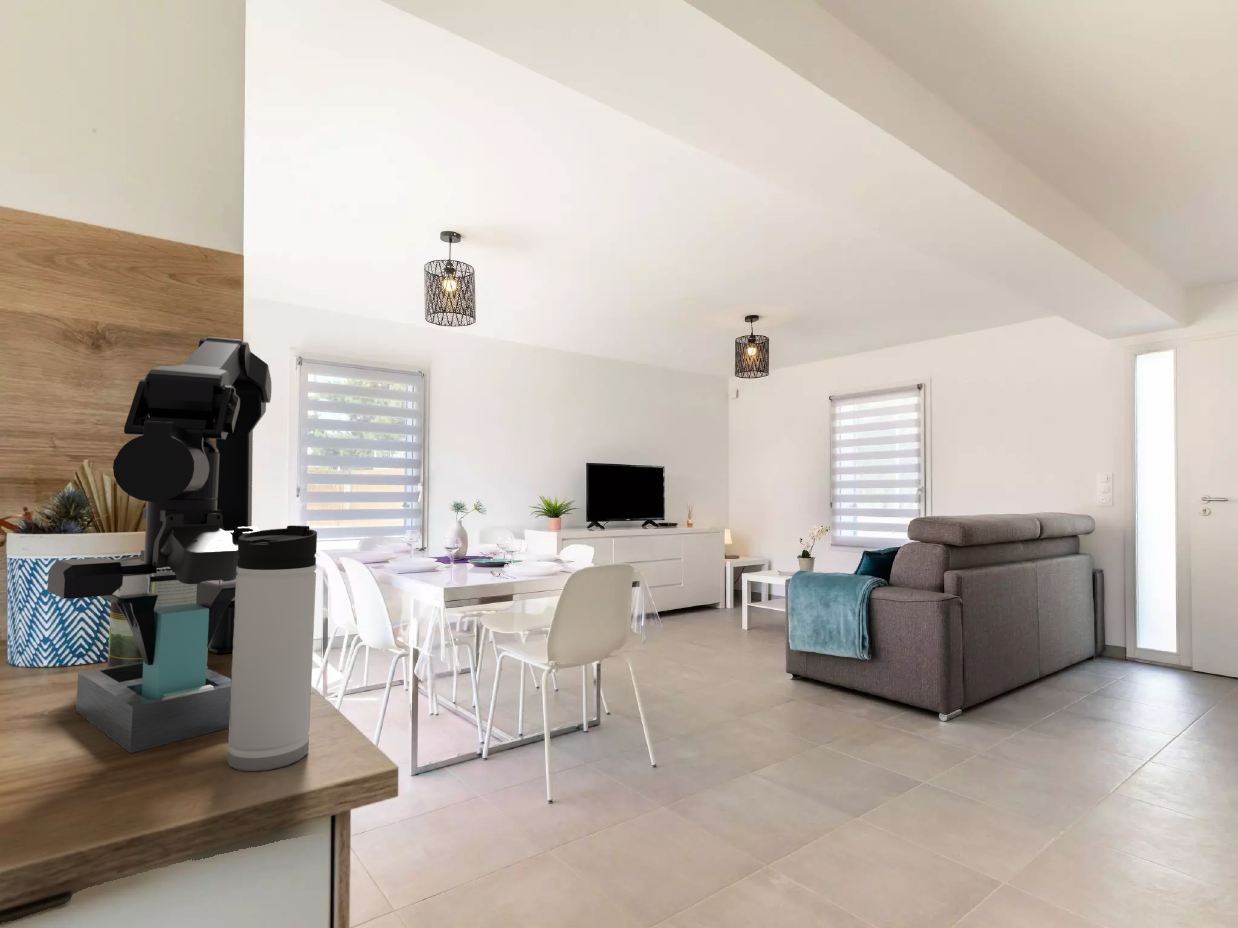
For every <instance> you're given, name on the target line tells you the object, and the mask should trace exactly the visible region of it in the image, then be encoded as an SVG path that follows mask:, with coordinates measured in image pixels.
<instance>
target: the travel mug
mask: <svg viewBox="0 0 1238 928" xmlns="http://www.w3.org/2000/svg"><path fill="white" fill-rule="evenodd" d="M317 542H318V532H317V531H316V530H314V529H310V526H309V525H292V524H291V525H287V526H286V528H272V529H265V530H264V529H263V530H260V531H256V532H251V533H247V534H244V535H242V536H240V537H239V542H238V555H239V559H238V563H237V568H236V571H237V573H238V575H237V576H236V590H235V611H234V633H233V651H232V657H231V659H232V660H231V678H230V679H231V697H230V719H229V728H228V745H227V764H229V766H230V767H231V768H233V769H236V770H237V771H238V770H239V771H244V772H263V771H270V770H277V769H280V768H283V767H287V766H289V765H291V764H295V763H296V762H299V761H300V760H301V759H303V757H305V756H306V755H307V754H308V752H309V749H310V734H309V733H310V725H311V702H312V701H311V700H312V698H311V697H312V680H313V679H312V678H313V677H312V676H313V673H312V672H313V655H314V653H313V652H314V634H315V633H314V632H315V630H314V628H315V607H316V606H315V605H316V585H317V583H316V581H317V580H316V579H317V572H315V571H316V570H317V557H316V554H317V547H318V546H317V545H318V543H317Z"/></svg>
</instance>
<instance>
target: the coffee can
mask: <svg viewBox="0 0 1238 928" xmlns="http://www.w3.org/2000/svg"><path fill="white" fill-rule="evenodd" d="M140 558H141V555H140V556H129V557H121V558H117V559H115V561H119V562H120V563H121V565H126V564H142V563H144V562H143V561H140ZM167 567H169V566H167ZM163 568H166V567H163ZM149 592H151V593H154V594H157V595H158V598H157V601H156V604H155V607H163V606H172V605H181V604H189V603H194V604H196V595H197V584H184V583H181V582H179V581H178V580H171V581H159V582H150V591H149ZM109 611H110V613H109V615H110V617H109V630H108V631H109V632H108V650H107V666H106V667H110V666H117V665H123V664H129V663H135V662H141V661H143V657H142V655H141V652H140V650H139V648H138V645H137V643H136V641H135V638H134V636H133V633H132V631H131V629H130V627H129V624H128V622H127V620H126V618H125V617H124V615H123V614H122V612H121V610H120V609H119V607H118V605H117V604H116V603H115V602H113V601H110V609H109ZM208 651H209V650H208V648H207V655H208ZM206 668H208V663H207V664H206ZM208 669H209V668H208Z"/></svg>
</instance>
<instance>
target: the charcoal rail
mask: <svg viewBox="0 0 1238 928" xmlns="http://www.w3.org/2000/svg"><path fill="white" fill-rule="evenodd" d="M142 679H143V661H141V662H135V663H129V664H123V665H117V666H110V667H107V666H106V667H99V668H93V669H88V670H87V669H86V670H82V671H78V672H77V686H76V704H75V705H76V706H75V712H76V713H77V714H78V715H80V716H81V717H82V718H84V719H85V720H87V721H88V722H89V723H90V724H92V725H93V726H94V727H96V728H97V729H98V730H100V732H102V733H103V734H104V735H106V736H107V737H109V739H111V740H112V741H113V742H115V743H116V744H118V745H119V746H120V747H122V748H123V750H125V751H126V752H128V753H129V754H132V753H137V752H141V751H145V750H149V749H153V748H156V747H160V746H164V745H168V744H173V743H177V742H179V741H184V740H188V739H191V738H195V737H199V736H203V735H208V734H211V733H214V732H220V731H222V730H223V731H224V730H226V729H229V719H230V697H231V678H230V677H228V676H226V675H224V674H220V673H219V672H217V671H214V670H212V669H210V668H206V684H205V686H201V687H196V688H191V689H186V690H182V691H177V692H172V693H167V694H162V698H158V699H153V700H147V699H146V698H144V697H142Z"/></svg>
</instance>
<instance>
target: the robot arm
mask: <svg viewBox="0 0 1238 928" xmlns="http://www.w3.org/2000/svg"><path fill="white" fill-rule="evenodd" d="M270 372H271V371H270V368H269V365H268V363H267V362H265V361H264V360H262V359H261V358H260V357H259V356H257V355H256V354H254V353H253V352H251V349H250V344H249V342H247V341H244V340H243V339H239V338H237V339H236V338H228V337H217V336H216V337H215V336H207V337H205V338H204V337H201V338H200V339H199V342H198V348H197V349H196V350H195V351H194V352H193V353H192V354H191V355H190V356H189V357H188V358H187V359H186V360H185V361H184V362H183V363H182V364H180V365H177V364H176V365H160V366H156V367H153V368H151V369H150V370H148V372H147V373H146V375H145V378H144V379H143V378H142V379H140V380H139V381H138V384H137V387H136V390H135V393H134V396H133V399H132V403H131V405H130V408H129V412H128V413H127V418H126V421H125V424H124V428H123V433H124V434H125V435H129V436H137V437H135V438H132V439H131V440H129V441H128V442H127V443H125V444H124V445H123V446H122V447H121V448H120V449H119V451H118V452H117V453H116V456H115V459H114V460H113V465H112V471H113V477H114V479H115V481H116V484H117V485H118V486H119V488H121V490H122V491H123V492H124V493H126V494H127V495H129V496H130V497H132V498H134V499H137V500H138V501H144V502H146V507H143V508H142V519H144V520H145V536H144V549H141V550H140V556H141V558H140V561H143V562H144V563H142V564H126V565H121V563H120V562H119V561H115V560H116V559H115V560H114V559H111V558H108V557H92V558H77V559H76V558H75V559H73V558H72V559H71V558H70V559H58V560H57V561H56V562H55V563H53V564H52V565H51V566H50V568H49V571H48V574H47V593H50V594H53V595H55V596H57V597H59V598H62V599H63V600H65V599H71V600H74V599H84V598H93V597H101V598H102V599H105V600H108V601H110V602H111V601H113V602H115V603H116V604H117V605H118V607H119V609H120V610H121V612H122V614H123V615H124V617H125V618H126V620H127V622H128V624H129V627H130V629H131V631H132V633H133V636H134V638H135V641H136V643H137V645H138V648H139V650H140V652H141V655H142V657H143V660H144V662H145V664H147V665H153V662H154V654H155V627H154V608H155V604H156V601H157V598H158V595H157V594H154V593H151V592H149V591H150V582H159V581H171V580H178V581H179V582H181V583H184V584H197V595H196V604H197V605H200V606H203V607H206V608H209V622H208V643H207V648H208V651H210V652H212V653H215V654H225V653H231V652H232V653H233V633H234V611H235V590H236V576H237V575H238V573H237V571H236V568H237V563H238V559H239V555H238V542H239V537H240V536H242V535H244V534H247V533H251V532H256V531H261V530H260V529H259V528H258V527H257V526H252V525H253V521H252V520H253V518H252V517H253V516H252V515H253V450H254V449H253V446H254V445H253V442H254V440H253V438H254V436H253V435H254V434H253V433H254V430H255V428H256V426H257V425H258V424H259V422H260V421H261V420H262V418H263V417H264V415H265V413H266V411H267V404H269V403H270V402H271V400H272V399H271V398H272V378H271V373H270ZM212 440H215V443H214V442H213V441H212ZM167 566H169V567H167ZM163 567H166V568H163Z"/></svg>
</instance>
